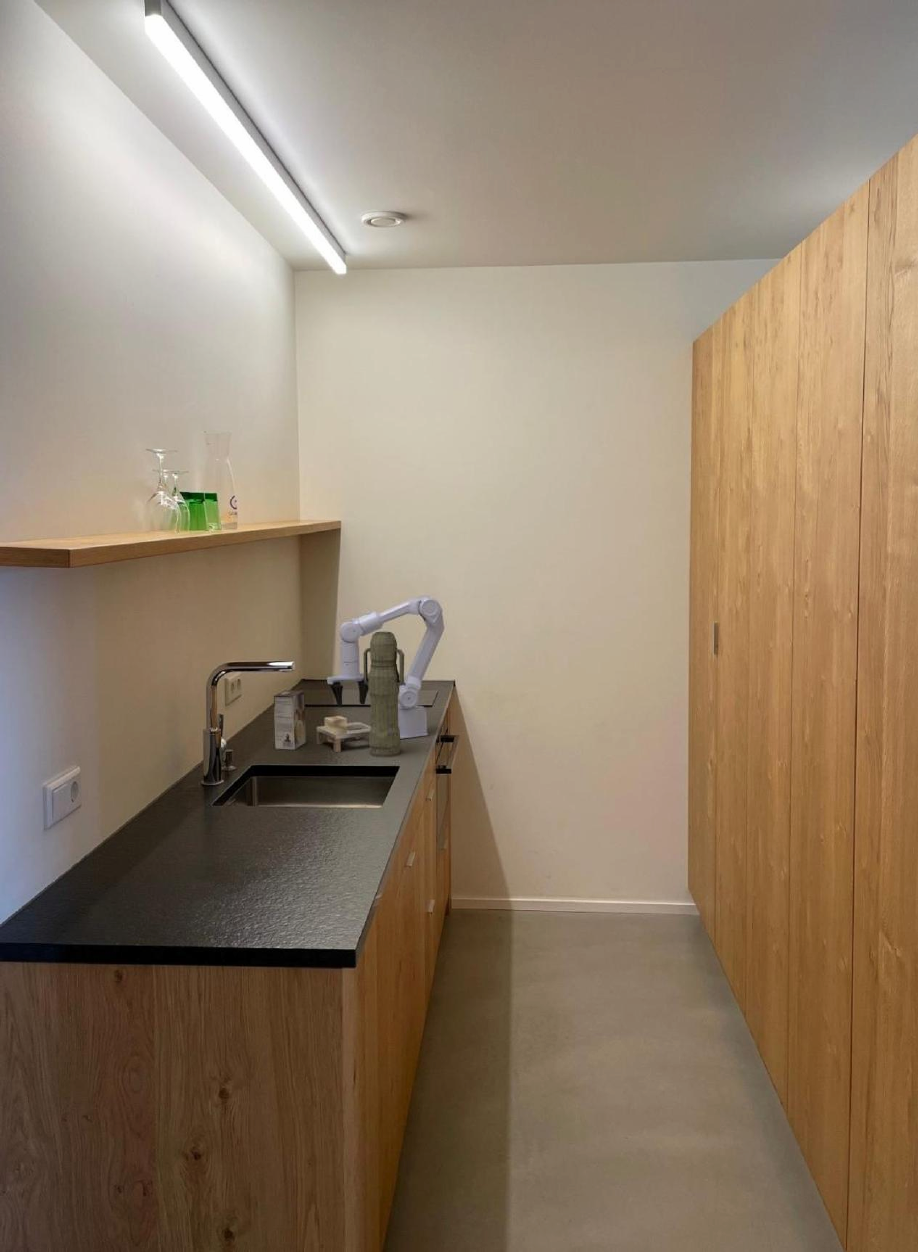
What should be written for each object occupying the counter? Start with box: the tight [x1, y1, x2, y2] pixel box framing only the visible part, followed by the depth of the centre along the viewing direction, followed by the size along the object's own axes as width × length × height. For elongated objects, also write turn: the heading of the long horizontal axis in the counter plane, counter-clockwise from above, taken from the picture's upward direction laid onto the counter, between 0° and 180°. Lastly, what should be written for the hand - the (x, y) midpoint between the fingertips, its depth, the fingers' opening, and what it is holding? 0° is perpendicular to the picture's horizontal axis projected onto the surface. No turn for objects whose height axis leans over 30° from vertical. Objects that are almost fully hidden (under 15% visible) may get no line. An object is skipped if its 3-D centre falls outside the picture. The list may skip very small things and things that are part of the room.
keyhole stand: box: [316, 721, 371, 753], centre depth 287 cm, size 14×14×5 cm
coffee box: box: [273, 689, 307, 750], centre depth 286 cm, size 9×6×16 cm
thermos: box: [363, 631, 405, 758], centre depth 275 cm, size 9×12×35 cm
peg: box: [324, 715, 348, 743], centre depth 285 cm, size 5×5×7 cm
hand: (350, 705), depth 295 cm, fingers open, 7 cm apart
